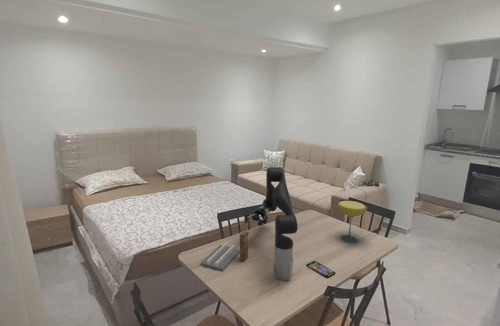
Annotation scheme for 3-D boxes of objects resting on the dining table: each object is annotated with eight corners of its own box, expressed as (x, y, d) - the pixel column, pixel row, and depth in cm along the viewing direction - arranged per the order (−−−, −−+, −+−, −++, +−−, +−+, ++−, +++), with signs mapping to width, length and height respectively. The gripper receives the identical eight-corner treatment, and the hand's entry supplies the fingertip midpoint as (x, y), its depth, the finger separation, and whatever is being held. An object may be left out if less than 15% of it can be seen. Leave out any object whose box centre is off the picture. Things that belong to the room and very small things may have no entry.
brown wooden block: (248, 257, 164) (248, 232, 161) (244, 261, 160) (244, 235, 156) (243, 256, 165) (243, 231, 162) (239, 260, 161) (240, 234, 158)
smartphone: (314, 260, 161) (336, 272, 150) (314, 261, 162) (336, 274, 150) (305, 264, 157) (327, 277, 145) (305, 266, 157) (327, 279, 145)
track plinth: (240, 252, 170) (240, 246, 169) (223, 271, 150) (223, 265, 149) (220, 247, 175) (220, 241, 174) (200, 265, 155) (200, 259, 155)
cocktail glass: (368, 239, 188) (372, 204, 183) (354, 248, 176) (358, 211, 171) (343, 230, 201) (346, 197, 196) (329, 238, 189) (332, 203, 184)
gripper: (251, 206, 185) (241, 215, 171) (272, 209, 180) (263, 219, 165) (251, 216, 187) (241, 226, 172) (271, 220, 182) (262, 231, 167)
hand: (251, 222), depth 169 cm, fingers open, 8 cm apart
